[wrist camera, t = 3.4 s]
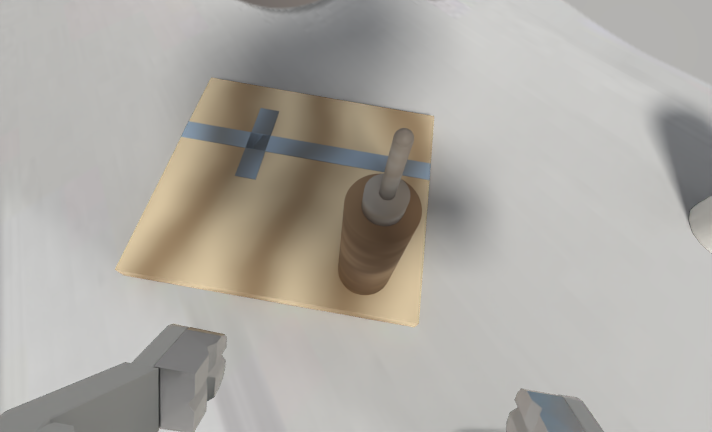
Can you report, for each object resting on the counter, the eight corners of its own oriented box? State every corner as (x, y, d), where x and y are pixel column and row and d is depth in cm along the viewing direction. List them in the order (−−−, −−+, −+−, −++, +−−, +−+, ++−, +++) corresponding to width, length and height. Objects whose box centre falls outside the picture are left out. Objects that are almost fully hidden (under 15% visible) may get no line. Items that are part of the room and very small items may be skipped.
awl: (333, 289, 23) (341, 166, 11) (343, 240, 25) (359, 83, 12) (387, 299, 23) (458, 187, 11) (393, 249, 25) (460, 101, 12)
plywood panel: (124, 275, 24) (114, 269, 23) (214, 88, 32) (210, 77, 31) (414, 327, 24) (418, 323, 23) (430, 125, 32) (434, 115, 31)
